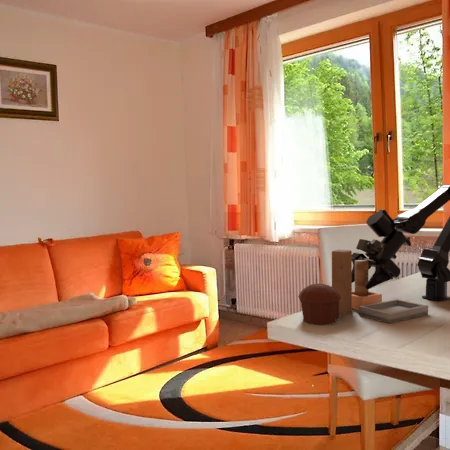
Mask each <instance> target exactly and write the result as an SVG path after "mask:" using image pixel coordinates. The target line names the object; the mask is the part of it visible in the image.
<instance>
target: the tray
mask: <svg viewBox="0 0 450 450" xmlns="http://www.w3.org/2000/svg"><path fill="white" fill-rule="evenodd" d="M427 315H429V305H428V304H426V305H425V304H423V303H418V302H412V301H408V300H405V299H399V298H393V299H389V300H382V302H378V303H373V304H368V305H363V306H359V310H358V316H362V317H366V318H368V319H372V320H376V321H380V322H383V323H386V324H393V323H397V322H402V321H405V320H409V319H414V318H418V317H419V318H420V317H423V316H427Z"/></svg>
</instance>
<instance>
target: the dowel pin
mask: <svg viewBox="0 0 450 450" xmlns="http://www.w3.org/2000/svg"><path fill="white" fill-rule="evenodd" d="M368 281H369V270H368V261H367V260H355V281H354V291H355V295H357V296H361V297H363V296H368V291H369V289H366V287H365V286H366V285H367V283H368Z"/></svg>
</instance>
